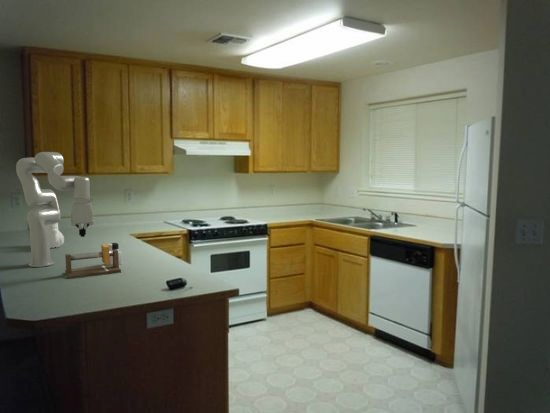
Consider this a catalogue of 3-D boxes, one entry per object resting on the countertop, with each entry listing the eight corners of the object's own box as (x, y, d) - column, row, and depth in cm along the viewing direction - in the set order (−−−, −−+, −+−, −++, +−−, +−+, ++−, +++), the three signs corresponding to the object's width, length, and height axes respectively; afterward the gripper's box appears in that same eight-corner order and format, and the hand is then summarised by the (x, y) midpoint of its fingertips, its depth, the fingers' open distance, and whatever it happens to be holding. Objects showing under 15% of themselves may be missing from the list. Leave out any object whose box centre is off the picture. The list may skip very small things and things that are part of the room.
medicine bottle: (116, 262, 263) (115, 241, 262) (122, 264, 258) (121, 243, 257) (104, 264, 258) (103, 243, 257) (110, 266, 253) (109, 244, 252)
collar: (101, 261, 245) (101, 244, 244) (106, 260, 246) (105, 244, 245) (105, 264, 237) (104, 247, 236) (109, 263, 238) (109, 246, 238)
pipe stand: (65, 272, 239) (64, 252, 238) (115, 266, 252) (114, 247, 251) (68, 278, 226) (67, 257, 225) (120, 272, 239) (120, 252, 238)
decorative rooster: (40, 245, 317) (38, 210, 315) (65, 244, 323) (63, 209, 321) (35, 252, 294) (33, 213, 292) (62, 250, 300) (60, 212, 297)
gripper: (96, 200, 242) (96, 234, 244) (65, 200, 235) (65, 236, 237) (98, 201, 236) (99, 236, 238) (66, 202, 228) (67, 238, 231)
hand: (82, 236), depth 237 cm, fingers closed
